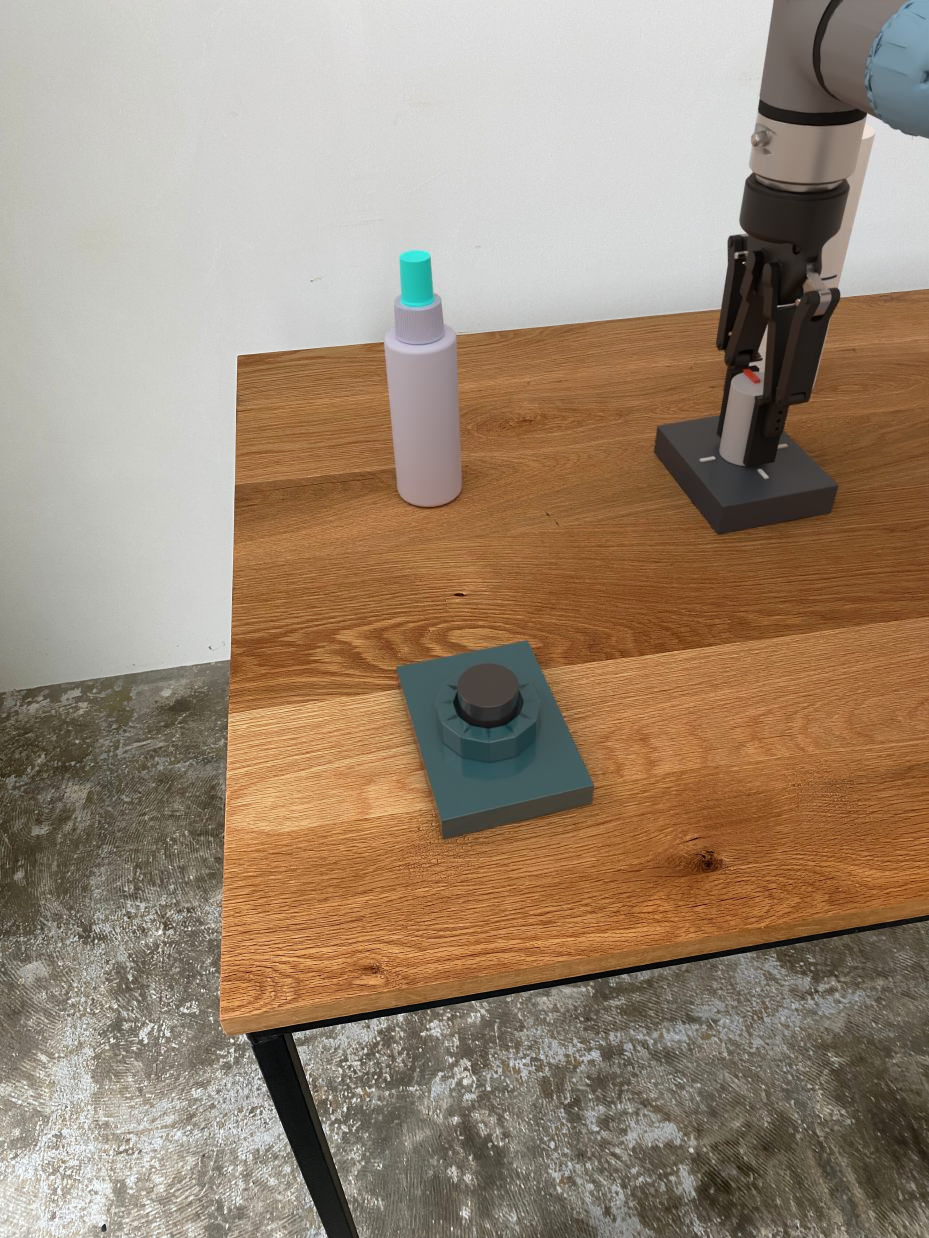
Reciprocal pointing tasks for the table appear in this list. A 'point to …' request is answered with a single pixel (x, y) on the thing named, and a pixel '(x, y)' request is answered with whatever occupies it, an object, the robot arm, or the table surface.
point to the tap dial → (740, 414)
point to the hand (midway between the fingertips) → (745, 447)
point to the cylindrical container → (839, 243)
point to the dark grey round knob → (488, 695)
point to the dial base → (742, 478)
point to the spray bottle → (423, 389)
